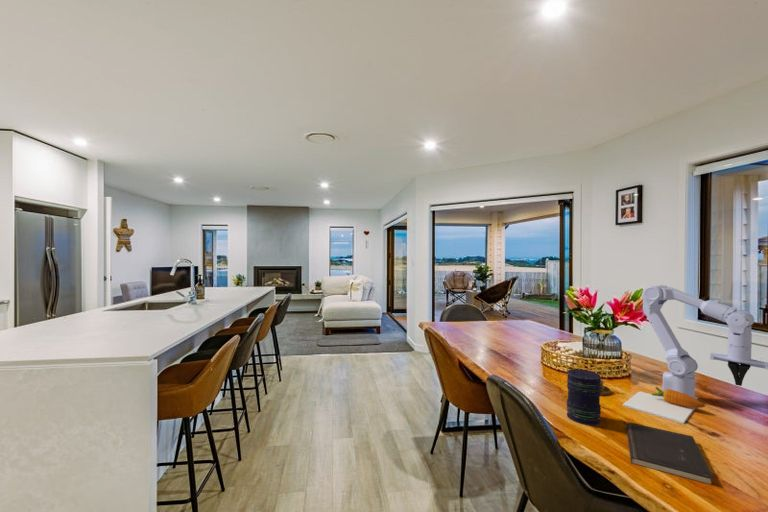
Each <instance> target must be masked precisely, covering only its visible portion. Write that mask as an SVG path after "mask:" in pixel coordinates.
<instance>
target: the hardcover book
mask: <svg viewBox="0 0 768 512" xmlns="http://www.w3.org/2000/svg"><path fill="white" fill-rule="evenodd" d="M625 425H626V434H627V442H628V449H629V454H630V455H629V456H630V462H631V463H630V464H634V465H639V466H641V467H646V468H648V469H649V468H650V469H653V470H657V471H660V472H664V473H668V474H671V475H675V476H679V477H683V478H686V479H691V480H694V481H698V482H701V483H704V484H705V483H706V484H708V485H712V480H713V481H714V476H713V474H712V472H711V470H710V469H709V467H708V465H707V462H706V461H705V458H704V456H703V454H702V452H701V450H700V448H699V446H698V444H697V442H696V440H695V438H694V436H693V435H689V434H684V433H678V432H675V431H670V430H665V429H661V428H657V427H652V426H647V425H644V424H639V423H634V422H629V421H628V422H626V424H625Z"/></svg>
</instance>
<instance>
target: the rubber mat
mask: <svg viewBox="0 0 768 512" xmlns="http://www.w3.org/2000/svg"><path fill="white" fill-rule="evenodd" d="M622 407H624V408H628V409H631V410H635V411H638V412H642V413H644V414H648V415H651V416H655V417H658V418H663V419H665V420H668V421H672V422H676V423H678V424H679V423H680V424H682V425H685V423H686V421H687V420H688V419H689V417H690V416H691V415H692V413H693V412H694V411H695V409H696V408H690V407H684V406H679V405H675V404H671V403H668V402H666V401H665V400H664V398H663V396H653V395H652V394H651V393H648V392H644V391H638V392H637V393H635V394H634V395H633V396H631V397H630V398H629V399H627V400H626V401H625V402H624V403H623V404H622Z"/></svg>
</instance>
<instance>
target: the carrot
mask: <svg viewBox="0 0 768 512" xmlns="http://www.w3.org/2000/svg"><path fill="white" fill-rule="evenodd" d="M654 388H655V390H656V391H657V392H654V393H650V394H652V395H653V396H660V397H663V398H664V400H665V401H666V402H668V403H671V404H675V405H679V406H684V407H690V408H695V409H697V408H705V407H706V405H705V404H704V403H703V402H702V401H700V400H698V399H695V398H693V397H691V396H689V395H686V394H684V393H681V392H678V391H675V390H671V389H666V390H665V391H664V392H663V391H662V389H661V388H659V387H658V386H655V387H654Z"/></svg>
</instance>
